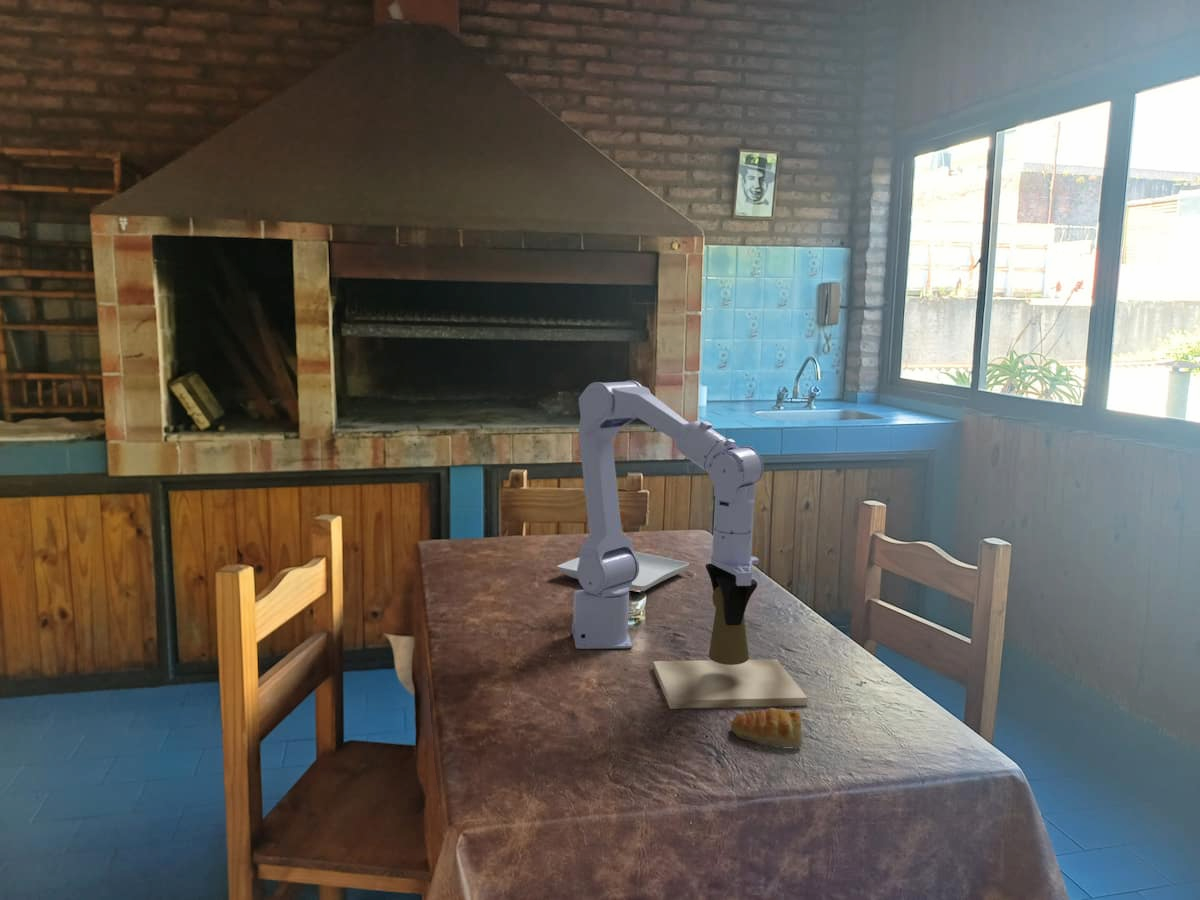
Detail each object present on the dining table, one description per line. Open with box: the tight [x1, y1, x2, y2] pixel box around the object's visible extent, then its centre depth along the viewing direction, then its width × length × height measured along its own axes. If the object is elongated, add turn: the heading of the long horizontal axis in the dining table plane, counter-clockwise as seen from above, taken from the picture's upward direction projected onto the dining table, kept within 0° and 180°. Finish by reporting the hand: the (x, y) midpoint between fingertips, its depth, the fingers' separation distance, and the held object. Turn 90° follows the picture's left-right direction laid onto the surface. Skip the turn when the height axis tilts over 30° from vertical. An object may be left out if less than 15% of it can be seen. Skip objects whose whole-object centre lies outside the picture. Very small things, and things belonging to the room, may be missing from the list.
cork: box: [708, 586, 750, 665], centre depth 128 cm, size 6×6×11 cm
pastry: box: [730, 707, 804, 749], centre depth 113 cm, size 9×7×4 cm
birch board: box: [652, 658, 808, 710], centre depth 128 cm, size 20×14×1 cm
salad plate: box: [556, 550, 690, 592], centre depth 181 cm, size 21×21×3 cm
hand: (728, 617), depth 128 cm, fingers closed on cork, 5 cm apart
